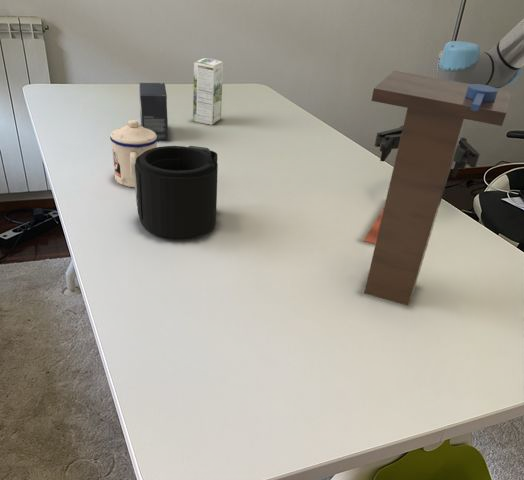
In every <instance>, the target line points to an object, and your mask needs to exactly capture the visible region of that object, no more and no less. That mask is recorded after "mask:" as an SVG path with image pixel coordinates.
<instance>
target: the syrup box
mask: <svg viewBox="0 0 524 480" xmlns="http://www.w3.org/2000/svg"><path fill="white" fill-rule="evenodd" d="M223 77H224V62H223V61H221V60H218V59H215V58H210V57H209V58H208V57H207V58H206V57H203V58H200V59H199V60H196V61H194V62H193V97H192V98H193V101H192V104H193V107H192V121H193V122H195V123H200V124H207V125H210V126H213V125H214V124H216V123H218V122H219V121H221V119H222V100H223V99H222V98H223Z"/></svg>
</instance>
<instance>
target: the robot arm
mask: <svg viewBox="0 0 524 480" xmlns="http://www.w3.org/2000/svg"><path fill="white" fill-rule="evenodd" d="M523 67H524V18H523V19H521V20H520V21H519V22H518V23H517V24H516V25H515V26H514V27H513V28H512V29H510V31H509V32H508V33H507V34H505V36H503V38H501V40H500V41H498V43H496V44H495V45H494V46H493V47H492V48H491V49H490V50H488V51H481V48H480V45H478V44H476V43H473V42H468V41H463V40H462V41H459V40H450V41H449V42H448V41H447V43H445V45H444V47H443V51H442V53H441V56H440V59H439V61H438V68H437V72H436V75H435V78H439V79H444V80H450V81H456V82H461V83H467V84H482V85H487V86H491V87H494V88H496V89H501V88H505V87H509V86H511V85H512V84H514V83H515V82H516V81H517V80H518V79H519V77H520V75H521V73H522V71H523ZM402 130H403V125H400V126H399V127H396V128H393V129H387V130H384V131H379V132H377V133H376V137H375V142H374V147H376V148H379V152H381V155H380V162H385V161H386V160H387V158H388V157H389V155H390V154H391V152H392V150H396V149H397V150H398V147H399V142H400V138H401V134H402ZM480 155H481V154H480V153H479V152H478V151H477V150H476V149H475V148H474V147H473V146H472V145H471V144H470V143H468V139H467V138H466V137H460V140H459V143H458V146H457V150H456V153H455V156H454V160H453V162H455V163H454V166H453V170H452V174H451V177H452V178H456V176H457V175H458V171H459V169H461V170H465V169H466V167H467V165H468V166H469V167H470V168H476V167H477V165H478V161H479V159H480Z"/></svg>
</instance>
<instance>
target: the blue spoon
mask: <svg viewBox="0 0 524 480" xmlns="http://www.w3.org/2000/svg"><path fill="white" fill-rule="evenodd" d="M497 89H498V88H494V87H491V86H487V85H482V84H470V85H469V86H468V89H467V92H466V97H468V98H469V99H472V100H474V101H473V103H472V106H471V110H473V111H479V108H480V106H481V103H482V102H493V101H495V99H496V95H497V92H498V90H497Z"/></svg>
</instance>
